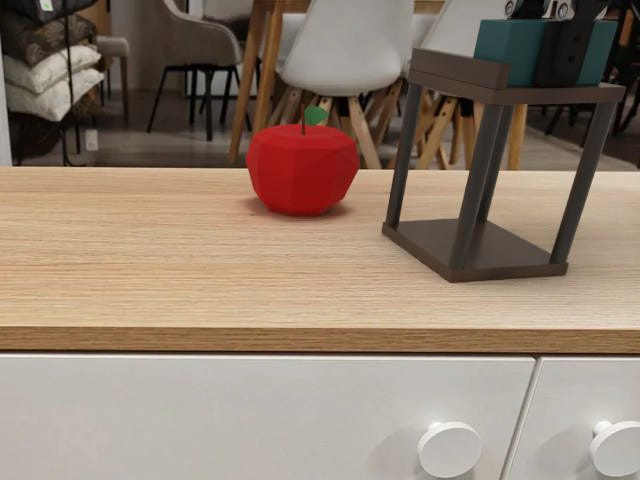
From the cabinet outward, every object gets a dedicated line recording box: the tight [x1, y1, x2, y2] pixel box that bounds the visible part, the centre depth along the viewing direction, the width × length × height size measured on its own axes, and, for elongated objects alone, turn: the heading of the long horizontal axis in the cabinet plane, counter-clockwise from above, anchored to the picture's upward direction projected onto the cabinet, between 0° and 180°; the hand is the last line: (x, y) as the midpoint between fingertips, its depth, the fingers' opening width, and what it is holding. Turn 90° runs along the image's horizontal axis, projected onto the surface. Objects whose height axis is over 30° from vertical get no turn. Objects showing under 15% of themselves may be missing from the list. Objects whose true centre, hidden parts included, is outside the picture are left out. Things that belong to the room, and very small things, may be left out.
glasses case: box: [472, 18, 619, 87], centre depth 47 cm, size 8×4×4 cm, turn 99°
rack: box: [380, 47, 627, 283], centre depth 54 cm, size 10×12×16 cm
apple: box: [245, 103, 360, 217], centre depth 67 cm, size 11×11×10 cm
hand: (534, 78), depth 48 cm, fingers closed on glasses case, 3 cm apart
